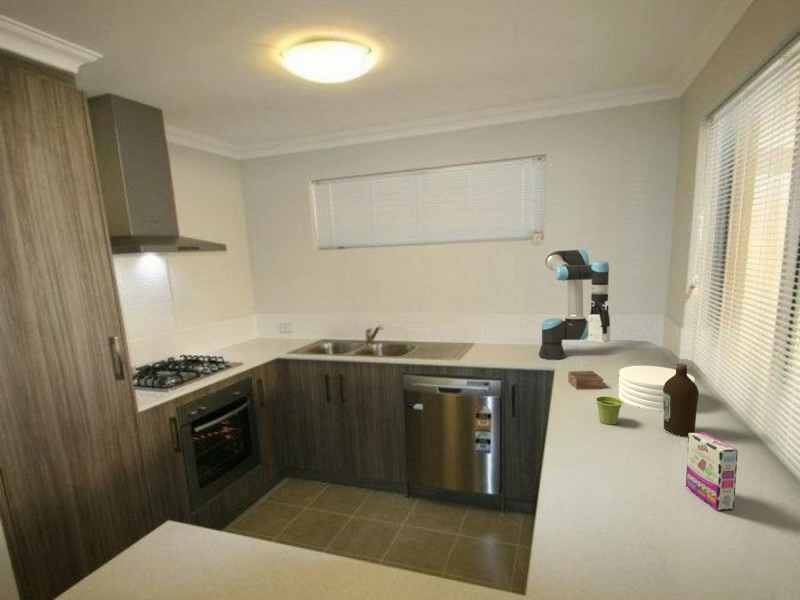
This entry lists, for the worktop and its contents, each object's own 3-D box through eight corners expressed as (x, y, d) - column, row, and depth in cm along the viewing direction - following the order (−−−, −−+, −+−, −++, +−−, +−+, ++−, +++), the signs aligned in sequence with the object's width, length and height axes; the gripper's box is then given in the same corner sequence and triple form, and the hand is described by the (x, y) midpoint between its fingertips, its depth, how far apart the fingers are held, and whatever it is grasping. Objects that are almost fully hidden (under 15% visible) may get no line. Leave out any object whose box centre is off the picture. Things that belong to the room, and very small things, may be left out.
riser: (567, 381, 211) (567, 371, 211) (592, 380, 211) (592, 371, 210) (576, 389, 199) (576, 379, 198) (603, 389, 198) (603, 378, 198)
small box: (610, 341, 207) (610, 315, 206) (604, 343, 203) (604, 316, 202) (593, 338, 213) (594, 313, 212) (587, 341, 209) (588, 315, 208)
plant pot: (619, 418, 165) (620, 397, 164) (624, 428, 157) (624, 406, 156) (594, 416, 169) (594, 395, 167) (596, 425, 160) (597, 403, 159)
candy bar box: (735, 510, 108) (739, 449, 106) (717, 511, 107) (721, 451, 105) (701, 485, 119) (704, 430, 117) (684, 487, 118) (687, 432, 116)
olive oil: (692, 427, 155) (695, 361, 152) (700, 439, 146) (704, 369, 142) (658, 423, 159) (661, 359, 156) (664, 435, 149) (667, 367, 146)
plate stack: (698, 397, 183) (700, 372, 182) (687, 418, 163) (688, 390, 162) (628, 385, 202) (629, 362, 201) (610, 402, 182) (610, 377, 181)
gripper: (582, 291, 217) (582, 333, 219) (602, 295, 194) (601, 342, 197) (597, 290, 216) (596, 332, 219) (618, 295, 194) (617, 342, 197)
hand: (599, 337), depth 208 cm, fingers closed on small box, 10 cm apart
